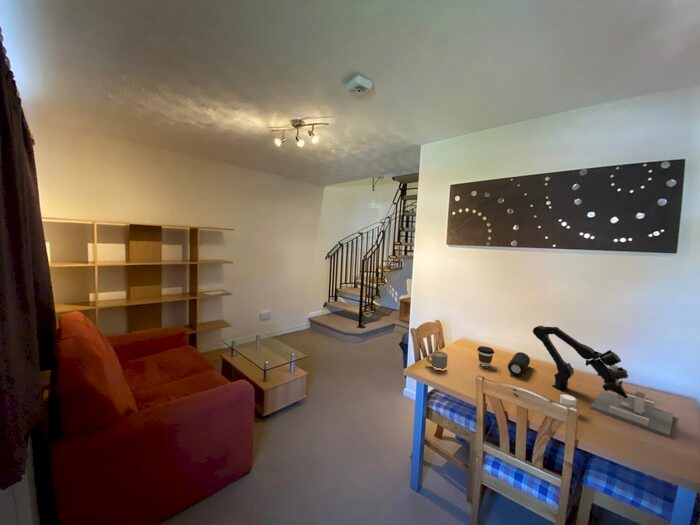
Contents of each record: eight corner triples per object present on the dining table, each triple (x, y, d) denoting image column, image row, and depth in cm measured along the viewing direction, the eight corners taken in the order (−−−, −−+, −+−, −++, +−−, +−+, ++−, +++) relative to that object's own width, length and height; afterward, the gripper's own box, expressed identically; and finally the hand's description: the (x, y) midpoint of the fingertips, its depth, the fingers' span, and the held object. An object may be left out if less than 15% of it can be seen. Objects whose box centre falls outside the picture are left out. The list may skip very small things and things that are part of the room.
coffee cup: (483, 369, 195) (484, 352, 195) (472, 362, 206) (473, 346, 205) (496, 368, 198) (498, 351, 197) (485, 361, 209) (487, 345, 208)
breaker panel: (590, 408, 151) (591, 400, 151) (601, 393, 168) (602, 385, 168) (669, 437, 129) (670, 428, 129) (673, 416, 146) (674, 408, 146)
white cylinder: (576, 415, 145) (577, 402, 144) (559, 410, 148) (560, 398, 148) (574, 409, 150) (575, 396, 150) (558, 404, 154) (559, 392, 153)
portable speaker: (514, 362, 208) (515, 349, 208) (530, 367, 202) (531, 353, 201) (506, 374, 189) (507, 359, 188) (523, 379, 182) (524, 364, 182)
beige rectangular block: (633, 411, 146) (635, 394, 146) (634, 408, 150) (636, 391, 149) (642, 414, 144) (644, 396, 143) (643, 411, 147) (645, 393, 146)
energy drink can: (601, 386, 177) (603, 362, 176) (611, 386, 176) (613, 363, 175) (609, 391, 171) (612, 366, 170) (619, 391, 170) (622, 367, 169)
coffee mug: (448, 367, 196) (449, 353, 195) (443, 372, 188) (444, 358, 187) (430, 362, 204) (430, 348, 203) (424, 366, 196) (425, 352, 196)
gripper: (613, 367, 147) (641, 398, 139) (620, 359, 158) (646, 386, 151) (592, 376, 153) (617, 405, 146) (600, 367, 165) (623, 394, 158)
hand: (626, 397), depth 150 cm, fingers closed
